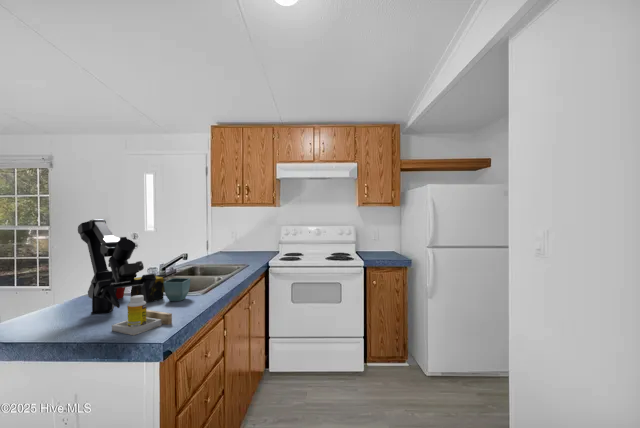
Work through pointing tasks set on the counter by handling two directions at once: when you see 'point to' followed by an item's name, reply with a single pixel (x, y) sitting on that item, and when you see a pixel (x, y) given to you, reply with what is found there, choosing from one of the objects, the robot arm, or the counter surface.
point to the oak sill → (160, 316)
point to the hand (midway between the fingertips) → (133, 304)
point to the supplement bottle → (136, 311)
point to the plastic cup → (120, 293)
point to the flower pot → (177, 288)
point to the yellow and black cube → (151, 290)
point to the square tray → (124, 328)
